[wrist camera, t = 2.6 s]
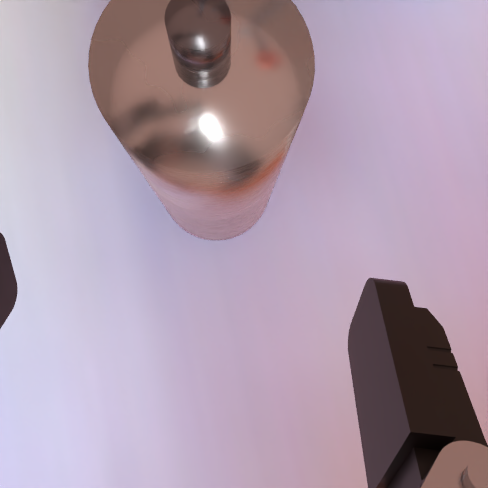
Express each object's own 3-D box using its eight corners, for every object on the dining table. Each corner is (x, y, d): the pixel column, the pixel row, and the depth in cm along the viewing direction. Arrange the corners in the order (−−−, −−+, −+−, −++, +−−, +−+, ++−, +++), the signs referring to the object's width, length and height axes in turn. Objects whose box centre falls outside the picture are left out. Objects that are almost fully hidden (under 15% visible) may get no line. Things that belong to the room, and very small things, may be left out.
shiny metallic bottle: (152, 228, 20) (31, 115, 8) (175, 126, 21) (99, -126, 9) (257, 250, 20) (303, 172, 8) (278, 148, 21) (351, -72, 9)
